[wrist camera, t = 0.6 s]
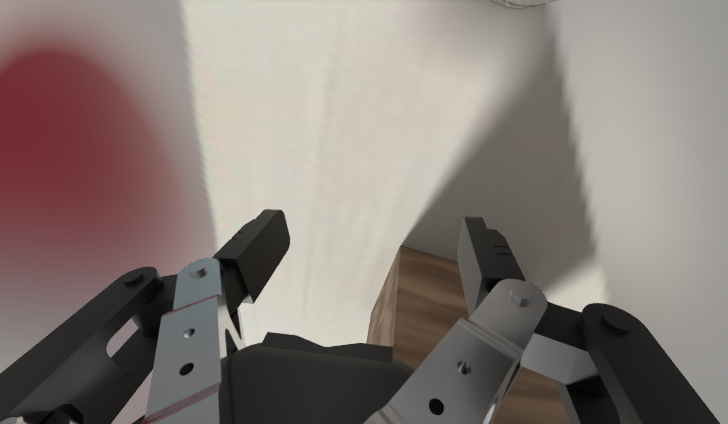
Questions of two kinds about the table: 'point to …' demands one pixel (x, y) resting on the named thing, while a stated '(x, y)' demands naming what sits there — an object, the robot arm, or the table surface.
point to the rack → (434, 320)
